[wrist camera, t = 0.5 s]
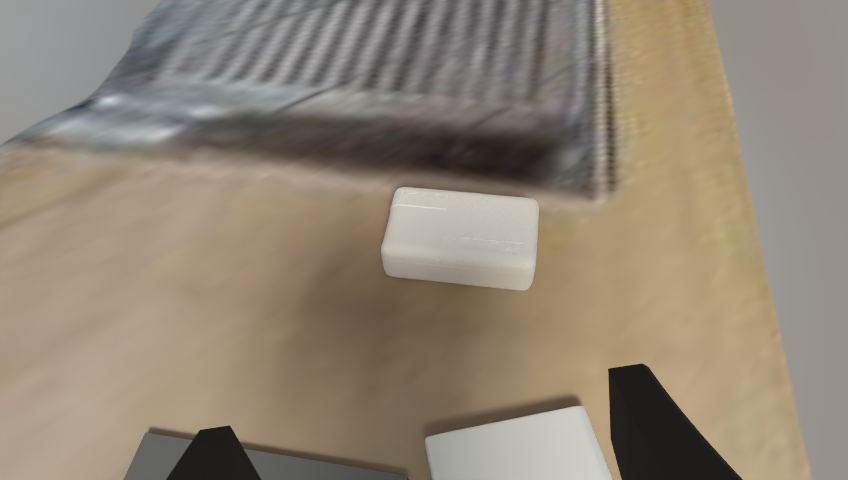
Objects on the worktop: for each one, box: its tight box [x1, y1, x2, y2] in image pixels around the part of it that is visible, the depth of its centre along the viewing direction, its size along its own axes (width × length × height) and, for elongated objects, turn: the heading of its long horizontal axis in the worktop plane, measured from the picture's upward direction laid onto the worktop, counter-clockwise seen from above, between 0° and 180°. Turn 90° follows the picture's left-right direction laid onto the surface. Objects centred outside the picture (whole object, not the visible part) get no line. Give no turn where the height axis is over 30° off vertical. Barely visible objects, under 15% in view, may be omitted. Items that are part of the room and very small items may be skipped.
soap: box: [381, 187, 539, 291], centre depth 37 cm, size 9×6×3 cm, turn 81°
